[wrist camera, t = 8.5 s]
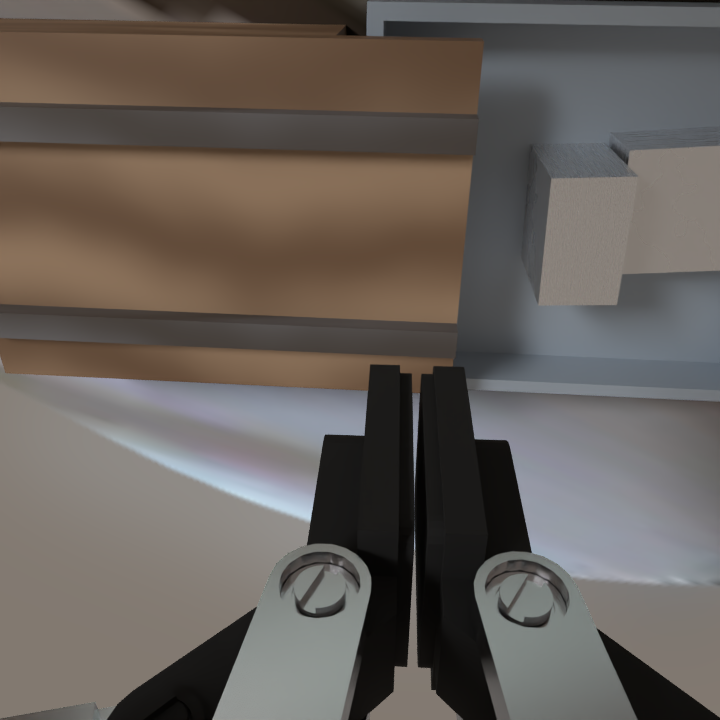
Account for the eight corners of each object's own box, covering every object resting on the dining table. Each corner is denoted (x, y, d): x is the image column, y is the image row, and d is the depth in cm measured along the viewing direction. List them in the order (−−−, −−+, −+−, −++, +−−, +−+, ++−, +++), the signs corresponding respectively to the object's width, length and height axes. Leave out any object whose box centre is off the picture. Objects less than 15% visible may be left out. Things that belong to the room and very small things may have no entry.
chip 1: (551, 178, 24) (638, 176, 24) (530, 144, 28) (604, 142, 28) (538, 305, 26) (616, 305, 26) (521, 256, 31) (588, 255, 30)
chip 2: (771, 143, 25) (737, 125, 27) (629, 150, 25) (609, 132, 28) (741, 269, 27) (713, 242, 30) (613, 274, 28) (596, 247, 30)
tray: (371, -3, 26) (367, 1, 24) (852, 4, 25) (901, 10, 23) (365, 352, 34) (361, 384, 32) (727, 368, 33) (753, 403, 31)
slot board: (-20, 17, 28) (-116, 31, 23) (473, 27, 27) (486, 44, 22) (55, 321, 35) (-4, 382, 30) (445, 338, 34) (450, 405, 29)
